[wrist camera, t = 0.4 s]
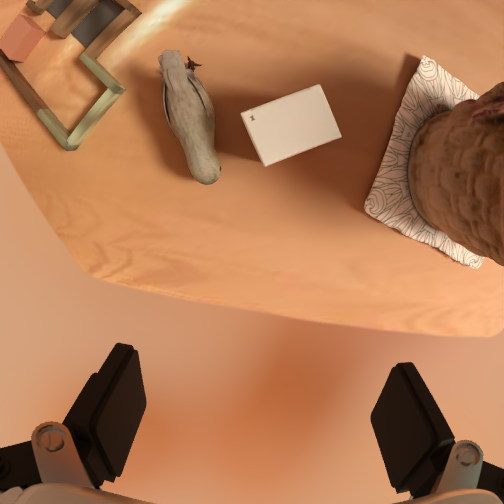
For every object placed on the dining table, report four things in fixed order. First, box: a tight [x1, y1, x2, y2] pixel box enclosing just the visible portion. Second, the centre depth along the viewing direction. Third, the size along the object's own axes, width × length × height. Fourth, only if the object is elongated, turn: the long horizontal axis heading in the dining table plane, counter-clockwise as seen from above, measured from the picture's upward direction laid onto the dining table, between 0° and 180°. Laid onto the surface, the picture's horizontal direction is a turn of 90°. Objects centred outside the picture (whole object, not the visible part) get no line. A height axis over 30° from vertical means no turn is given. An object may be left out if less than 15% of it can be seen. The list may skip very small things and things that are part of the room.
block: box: [0, 14, 46, 62], centre depth 28 cm, size 6×6×4 cm
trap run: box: [0, 0, 142, 151], centre depth 29 cm, size 20×28×2 cm
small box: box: [240, 84, 342, 167], centre depth 31 cm, size 8×6×10 cm
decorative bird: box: [158, 50, 221, 185], centre depth 32 cm, size 5×16×8 cm, turn 15°
